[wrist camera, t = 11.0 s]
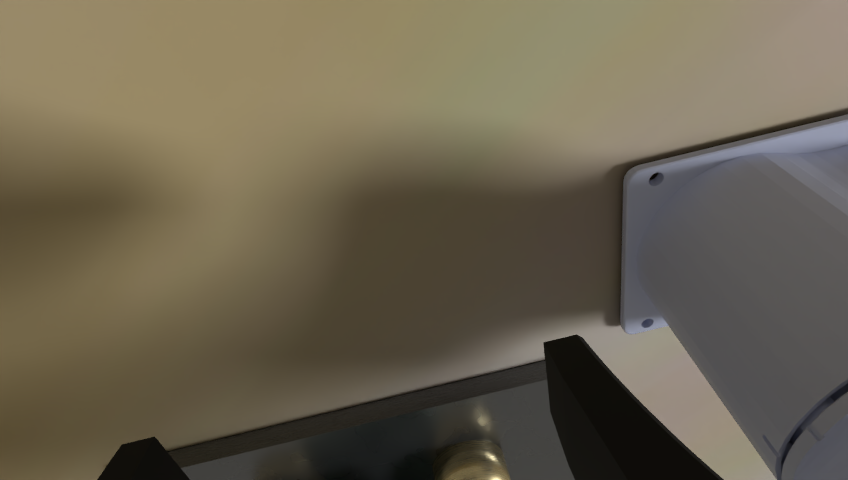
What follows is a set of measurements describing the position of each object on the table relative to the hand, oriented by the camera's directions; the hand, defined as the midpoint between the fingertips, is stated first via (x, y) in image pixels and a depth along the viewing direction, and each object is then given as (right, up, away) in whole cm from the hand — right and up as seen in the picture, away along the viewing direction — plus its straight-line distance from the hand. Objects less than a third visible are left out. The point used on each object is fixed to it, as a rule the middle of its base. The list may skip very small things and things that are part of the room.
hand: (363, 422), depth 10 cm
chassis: (-1, -10, +19) cm, 21 cm away
